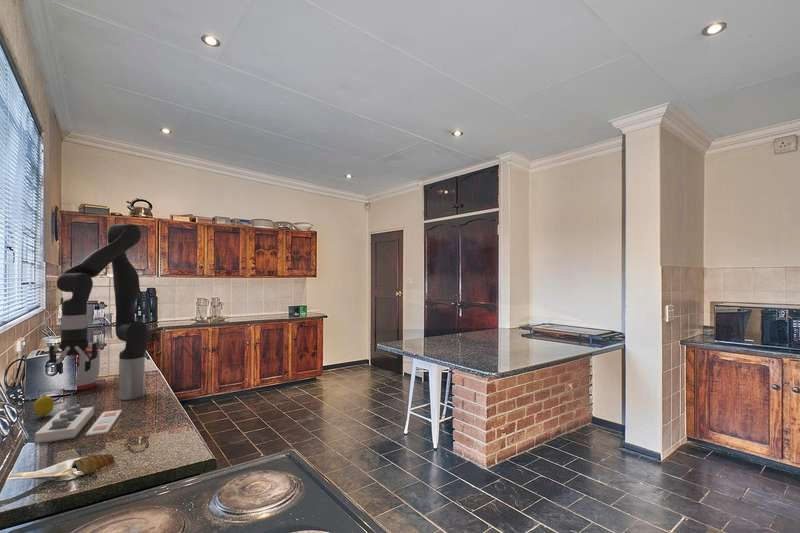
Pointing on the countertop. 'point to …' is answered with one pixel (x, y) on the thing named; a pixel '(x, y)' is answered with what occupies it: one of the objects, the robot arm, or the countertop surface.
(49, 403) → the lemon
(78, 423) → the button panel
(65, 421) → the button near
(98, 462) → the pastry
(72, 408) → the button far
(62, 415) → the button middle
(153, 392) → the countertop surface
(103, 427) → the pattern card
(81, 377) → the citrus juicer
